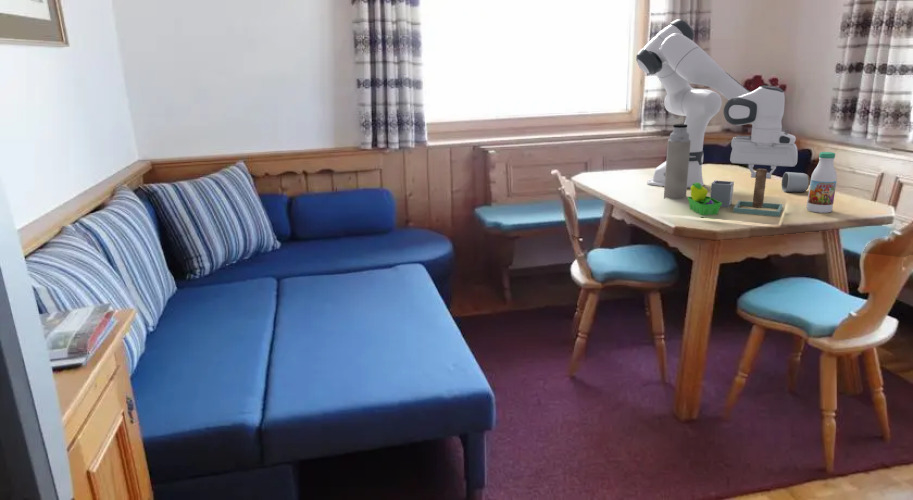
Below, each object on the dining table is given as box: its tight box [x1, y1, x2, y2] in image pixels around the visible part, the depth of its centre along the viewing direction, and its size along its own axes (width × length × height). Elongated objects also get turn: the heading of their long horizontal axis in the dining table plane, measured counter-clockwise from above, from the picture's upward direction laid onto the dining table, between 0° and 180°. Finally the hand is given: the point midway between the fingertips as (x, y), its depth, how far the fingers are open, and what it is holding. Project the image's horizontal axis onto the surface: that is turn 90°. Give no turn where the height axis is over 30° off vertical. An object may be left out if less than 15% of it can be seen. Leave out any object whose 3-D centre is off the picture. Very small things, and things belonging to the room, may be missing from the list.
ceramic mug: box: [781, 171, 811, 193], centre depth 246 cm, size 11×8×8 cm
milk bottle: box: [806, 151, 838, 214], centre depth 214 cm, size 8×8×20 cm
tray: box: [732, 200, 784, 217], centre depth 215 cm, size 14×12×2 cm
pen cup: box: [709, 179, 735, 208], centre depth 223 cm, size 6×6×9 cm
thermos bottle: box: [663, 123, 691, 200], centre depth 235 cm, size 8×8×28 cm
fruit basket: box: [687, 183, 722, 219], centre depth 215 cm, size 11×9×11 cm
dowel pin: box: [751, 168, 768, 209], centre depth 213 cm, size 3×3×13 cm
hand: (760, 177), depth 212 cm, fingers closed on dowel pin, 3 cm apart
